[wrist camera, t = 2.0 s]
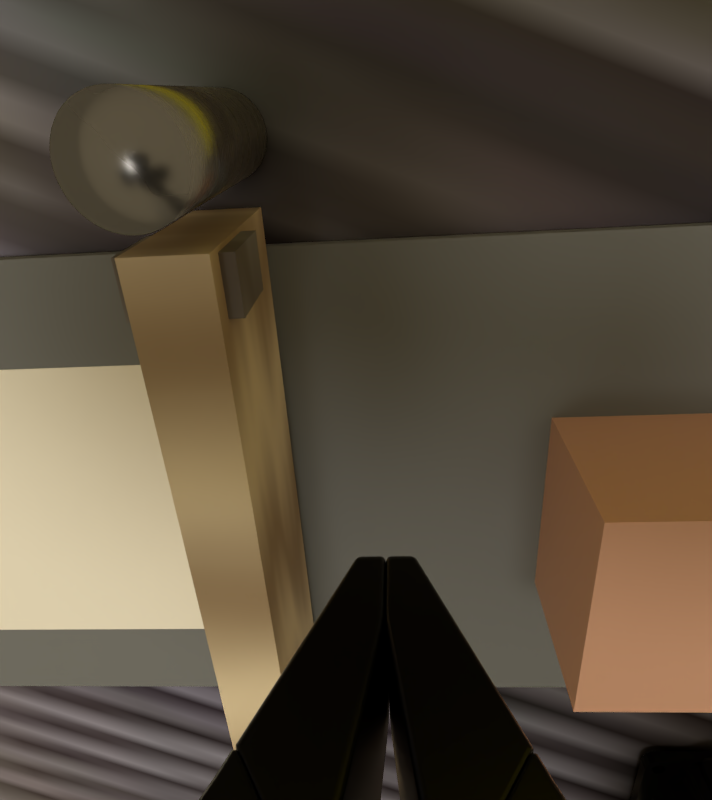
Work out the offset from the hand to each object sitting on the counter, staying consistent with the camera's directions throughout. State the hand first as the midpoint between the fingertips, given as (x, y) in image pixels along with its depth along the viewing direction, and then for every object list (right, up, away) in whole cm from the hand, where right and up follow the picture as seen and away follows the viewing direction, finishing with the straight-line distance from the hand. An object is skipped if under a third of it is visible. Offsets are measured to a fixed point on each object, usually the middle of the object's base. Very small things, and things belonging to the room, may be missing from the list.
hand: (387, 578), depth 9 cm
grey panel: (-3, -1, +10) cm, 10 cm away
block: (+8, -1, +9) cm, 12 cm away
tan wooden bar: (-3, 0, +9) cm, 9 cm away
